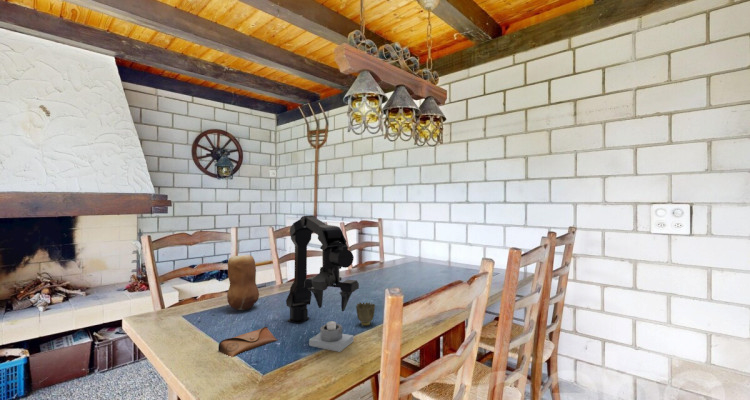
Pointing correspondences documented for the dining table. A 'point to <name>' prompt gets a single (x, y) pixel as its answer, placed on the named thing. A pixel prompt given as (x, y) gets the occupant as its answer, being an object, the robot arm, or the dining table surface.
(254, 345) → the sunglasses case
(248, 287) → the butternut squash
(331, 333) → the hub ring
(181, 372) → the dining table surface
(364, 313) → the cup
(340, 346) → the shaft block
